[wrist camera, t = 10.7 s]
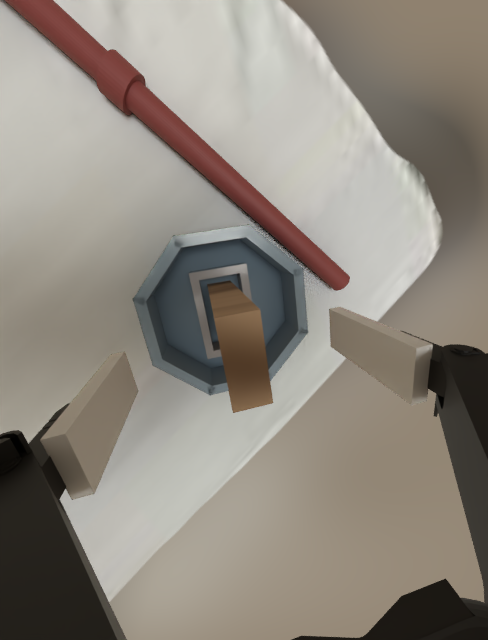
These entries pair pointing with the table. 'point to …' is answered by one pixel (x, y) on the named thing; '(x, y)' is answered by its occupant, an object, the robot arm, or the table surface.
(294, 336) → the octagonal blue tray
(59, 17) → the rolling pin
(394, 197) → the table surface
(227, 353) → the flat wood plank
